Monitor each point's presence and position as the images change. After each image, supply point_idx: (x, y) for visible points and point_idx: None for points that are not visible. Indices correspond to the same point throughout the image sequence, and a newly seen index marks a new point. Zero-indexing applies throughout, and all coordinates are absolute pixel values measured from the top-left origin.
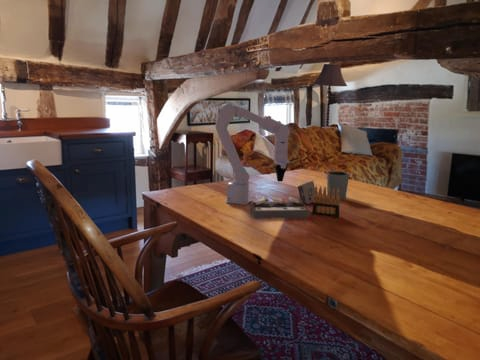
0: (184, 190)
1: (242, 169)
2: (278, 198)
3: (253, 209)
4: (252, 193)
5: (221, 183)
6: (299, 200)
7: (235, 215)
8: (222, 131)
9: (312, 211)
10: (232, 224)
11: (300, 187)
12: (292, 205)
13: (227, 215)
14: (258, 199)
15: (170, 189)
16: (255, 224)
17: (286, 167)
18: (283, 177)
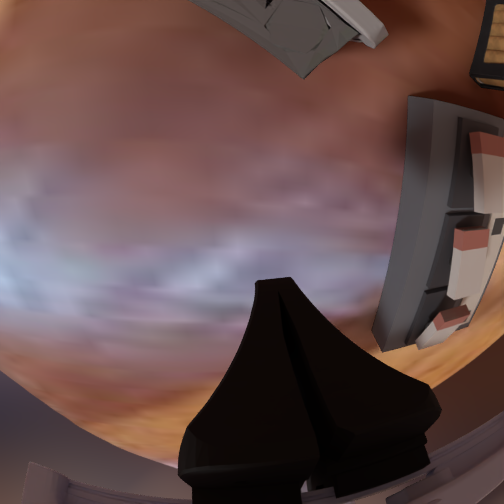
0: (157, 451)
1: (354, 501)
2: (463, 266)
3: (456, 330)
4: (116, 332)
5: (41, 394)
6: (499, 152)
7: (413, 355)
8: None
9: (491, 88)
10: (462, 344)
11: (328, 55)
12: None
13: (405, 370)
14: (429, 341)
15: (158, 461)
16: (487, 299)
17: (440, 409)
18: (309, 301)
